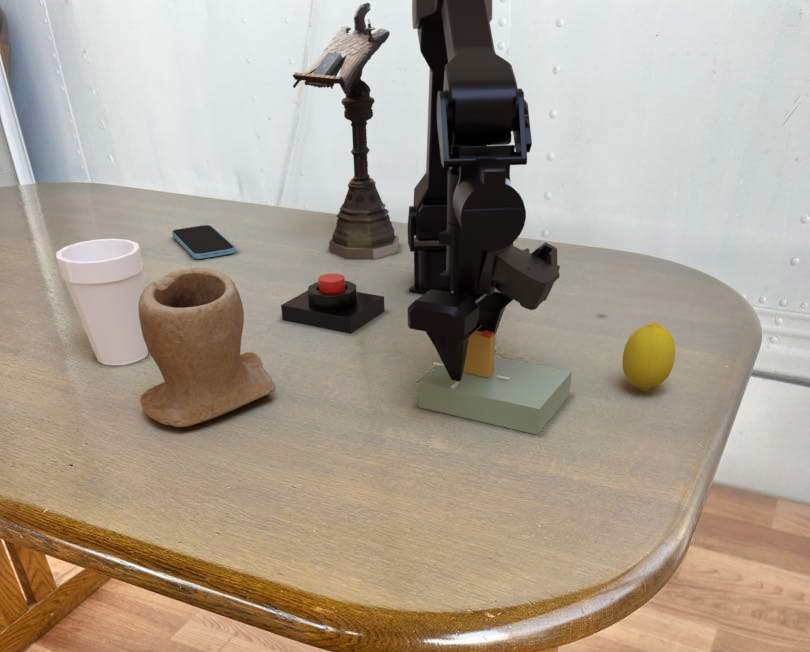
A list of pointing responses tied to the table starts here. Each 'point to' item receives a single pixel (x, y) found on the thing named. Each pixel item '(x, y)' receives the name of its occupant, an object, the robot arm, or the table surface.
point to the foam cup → (107, 296)
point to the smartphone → (203, 241)
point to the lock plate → (499, 394)
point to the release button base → (333, 308)
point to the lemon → (648, 356)
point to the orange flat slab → (480, 354)
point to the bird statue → (355, 140)
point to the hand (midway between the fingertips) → (470, 367)
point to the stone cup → (198, 348)
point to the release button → (331, 283)
